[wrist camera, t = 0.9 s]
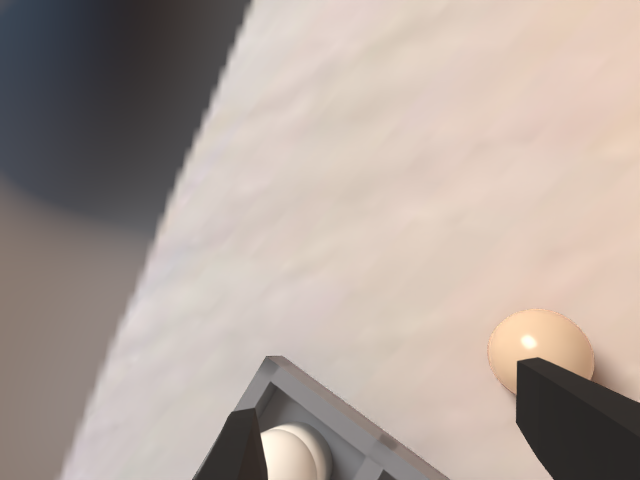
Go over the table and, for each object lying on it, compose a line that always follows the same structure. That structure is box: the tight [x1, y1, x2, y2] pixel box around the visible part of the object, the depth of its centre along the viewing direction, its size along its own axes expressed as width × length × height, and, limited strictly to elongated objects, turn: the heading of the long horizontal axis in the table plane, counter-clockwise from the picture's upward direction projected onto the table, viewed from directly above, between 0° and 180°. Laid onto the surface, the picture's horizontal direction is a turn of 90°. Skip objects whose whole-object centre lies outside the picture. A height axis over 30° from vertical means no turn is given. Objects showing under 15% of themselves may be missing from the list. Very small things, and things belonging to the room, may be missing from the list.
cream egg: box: [260, 421, 333, 480], centre depth 22 cm, size 4×4×5 cm
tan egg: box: [487, 309, 594, 395], centre depth 21 cm, size 4×4×5 cm
